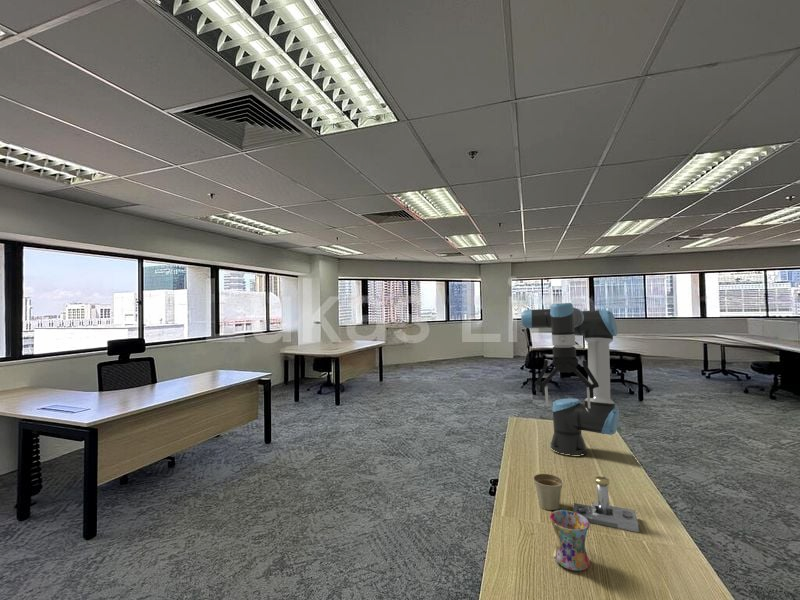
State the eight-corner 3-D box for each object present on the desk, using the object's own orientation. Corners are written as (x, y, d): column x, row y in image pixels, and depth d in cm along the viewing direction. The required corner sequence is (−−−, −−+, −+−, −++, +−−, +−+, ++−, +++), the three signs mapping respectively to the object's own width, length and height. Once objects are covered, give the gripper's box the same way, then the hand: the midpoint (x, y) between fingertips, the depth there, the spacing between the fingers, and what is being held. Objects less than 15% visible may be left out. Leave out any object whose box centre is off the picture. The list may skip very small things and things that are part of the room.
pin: (597, 514, 114) (594, 475, 114) (611, 517, 112) (608, 477, 113) (597, 520, 110) (595, 480, 111) (611, 523, 109) (609, 482, 109)
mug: (596, 577, 87) (593, 532, 88) (555, 572, 89) (552, 527, 90) (584, 546, 99) (581, 506, 99) (547, 542, 101) (545, 503, 101)
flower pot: (563, 500, 123) (562, 474, 123) (566, 515, 114) (564, 487, 114) (533, 497, 126) (532, 472, 126) (534, 511, 117) (533, 484, 117)
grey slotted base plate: (574, 506, 119) (573, 497, 119) (635, 518, 111) (634, 508, 111) (573, 519, 112) (572, 509, 112) (638, 532, 104) (638, 521, 104)
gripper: (525, 347, 131) (529, 406, 131) (604, 347, 120) (608, 411, 120) (528, 345, 138) (531, 401, 138) (603, 344, 127) (607, 405, 127)
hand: (567, 406), depth 129 cm, fingers open, 13 cm apart
